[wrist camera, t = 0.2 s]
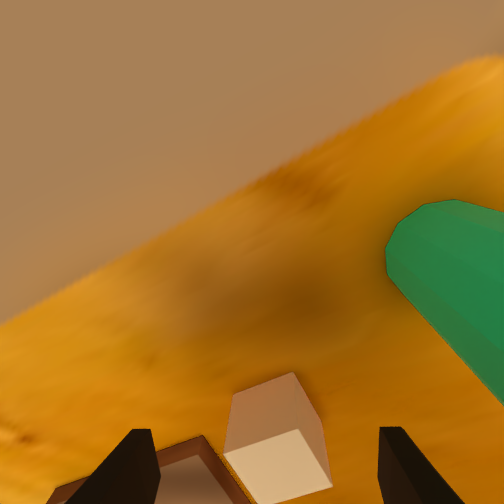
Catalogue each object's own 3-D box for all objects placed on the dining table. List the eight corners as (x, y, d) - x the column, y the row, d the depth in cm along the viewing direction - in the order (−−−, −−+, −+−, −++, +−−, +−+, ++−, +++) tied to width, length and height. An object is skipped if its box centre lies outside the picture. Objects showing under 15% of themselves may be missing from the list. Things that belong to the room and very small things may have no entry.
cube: (321, 420, 22) (332, 486, 17) (263, 440, 23) (260, 507, 18) (292, 370, 21) (297, 428, 16) (233, 393, 21) (223, 454, 17)
